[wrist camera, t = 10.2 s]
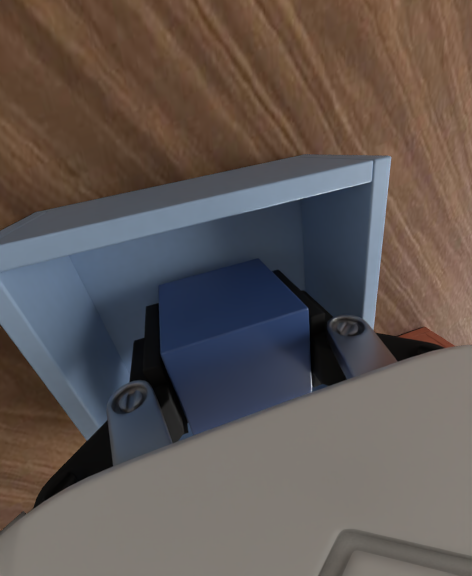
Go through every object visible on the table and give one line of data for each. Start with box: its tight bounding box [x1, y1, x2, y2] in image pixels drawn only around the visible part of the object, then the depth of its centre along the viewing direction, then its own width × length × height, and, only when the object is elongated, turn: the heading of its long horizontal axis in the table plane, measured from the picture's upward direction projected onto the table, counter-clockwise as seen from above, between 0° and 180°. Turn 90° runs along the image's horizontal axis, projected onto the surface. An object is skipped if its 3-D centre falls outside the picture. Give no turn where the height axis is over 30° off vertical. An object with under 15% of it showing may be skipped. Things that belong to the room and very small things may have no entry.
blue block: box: [158, 258, 312, 436], centre depth 10 cm, size 4×4×4 cm
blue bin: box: [0, 154, 391, 441], centre depth 12 cm, size 11×11×5 cm
